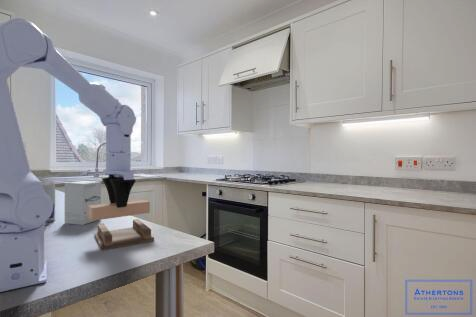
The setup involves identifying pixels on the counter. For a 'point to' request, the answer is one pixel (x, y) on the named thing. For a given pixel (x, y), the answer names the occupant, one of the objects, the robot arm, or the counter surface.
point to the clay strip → (117, 210)
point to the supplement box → (81, 200)
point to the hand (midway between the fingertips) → (118, 205)
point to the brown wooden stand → (123, 235)
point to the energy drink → (50, 190)
